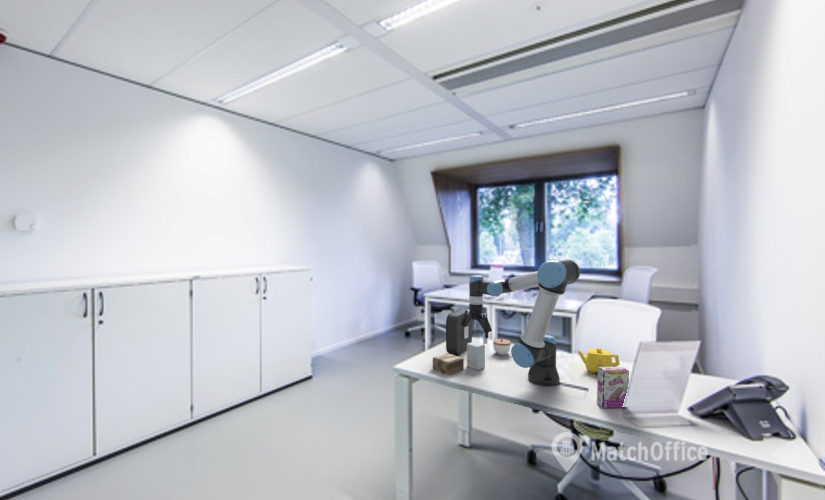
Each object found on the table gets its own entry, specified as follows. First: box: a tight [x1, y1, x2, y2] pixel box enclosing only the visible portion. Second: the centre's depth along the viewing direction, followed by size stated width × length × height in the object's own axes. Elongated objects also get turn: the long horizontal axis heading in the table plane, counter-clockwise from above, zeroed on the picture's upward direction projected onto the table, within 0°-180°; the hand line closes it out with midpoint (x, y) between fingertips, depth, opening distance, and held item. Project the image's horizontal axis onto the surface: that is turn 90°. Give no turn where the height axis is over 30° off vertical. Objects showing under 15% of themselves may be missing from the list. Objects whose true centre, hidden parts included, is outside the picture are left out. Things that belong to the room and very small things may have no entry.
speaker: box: [445, 309, 473, 356], centre depth 224 cm, size 25×9×25 cm, turn 149°
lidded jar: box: [492, 338, 512, 356], centre depth 218 cm, size 11×11×9 cm
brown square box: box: [432, 352, 465, 376], centre depth 193 cm, size 12×12×6 cm
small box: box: [466, 341, 486, 371], centre depth 196 cm, size 8×6×13 cm
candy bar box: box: [596, 366, 630, 409], centre depth 150 cm, size 11×5×16 cm, turn 92°
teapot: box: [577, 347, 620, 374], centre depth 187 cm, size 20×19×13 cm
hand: (475, 340), depth 196 cm, fingers open, 13 cm apart
